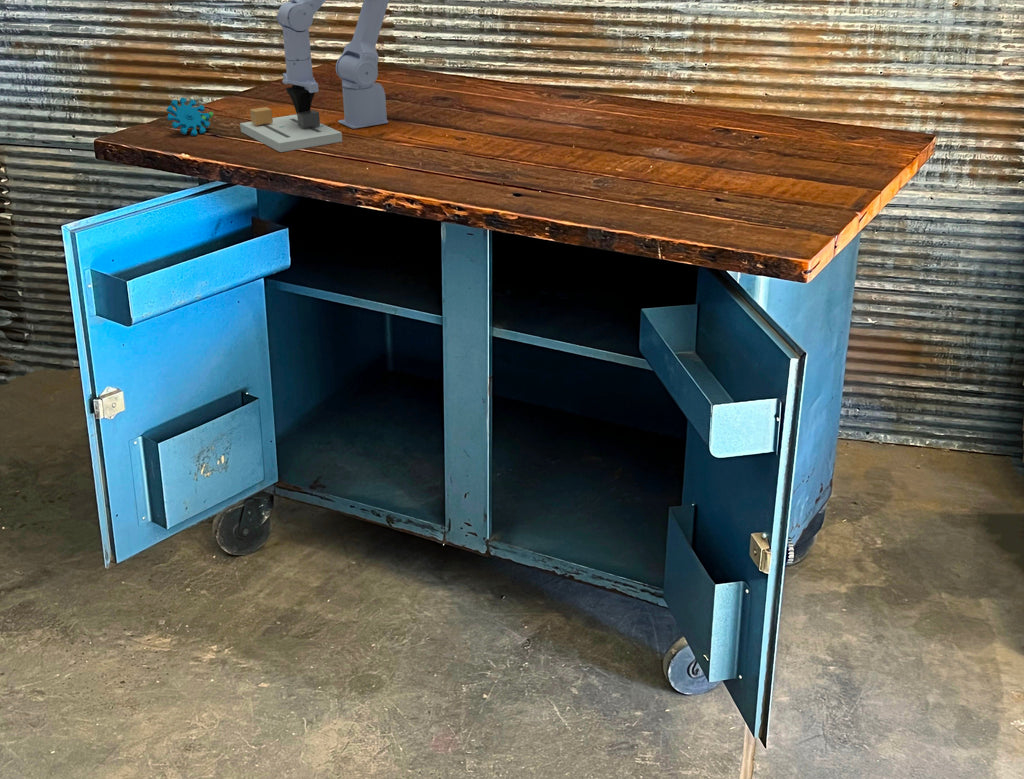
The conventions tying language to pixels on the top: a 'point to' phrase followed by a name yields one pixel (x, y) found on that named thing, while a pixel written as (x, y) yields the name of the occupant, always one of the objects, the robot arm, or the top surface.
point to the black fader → (308, 119)
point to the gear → (189, 116)
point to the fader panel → (290, 134)
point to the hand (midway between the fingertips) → (303, 118)
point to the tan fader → (261, 116)
